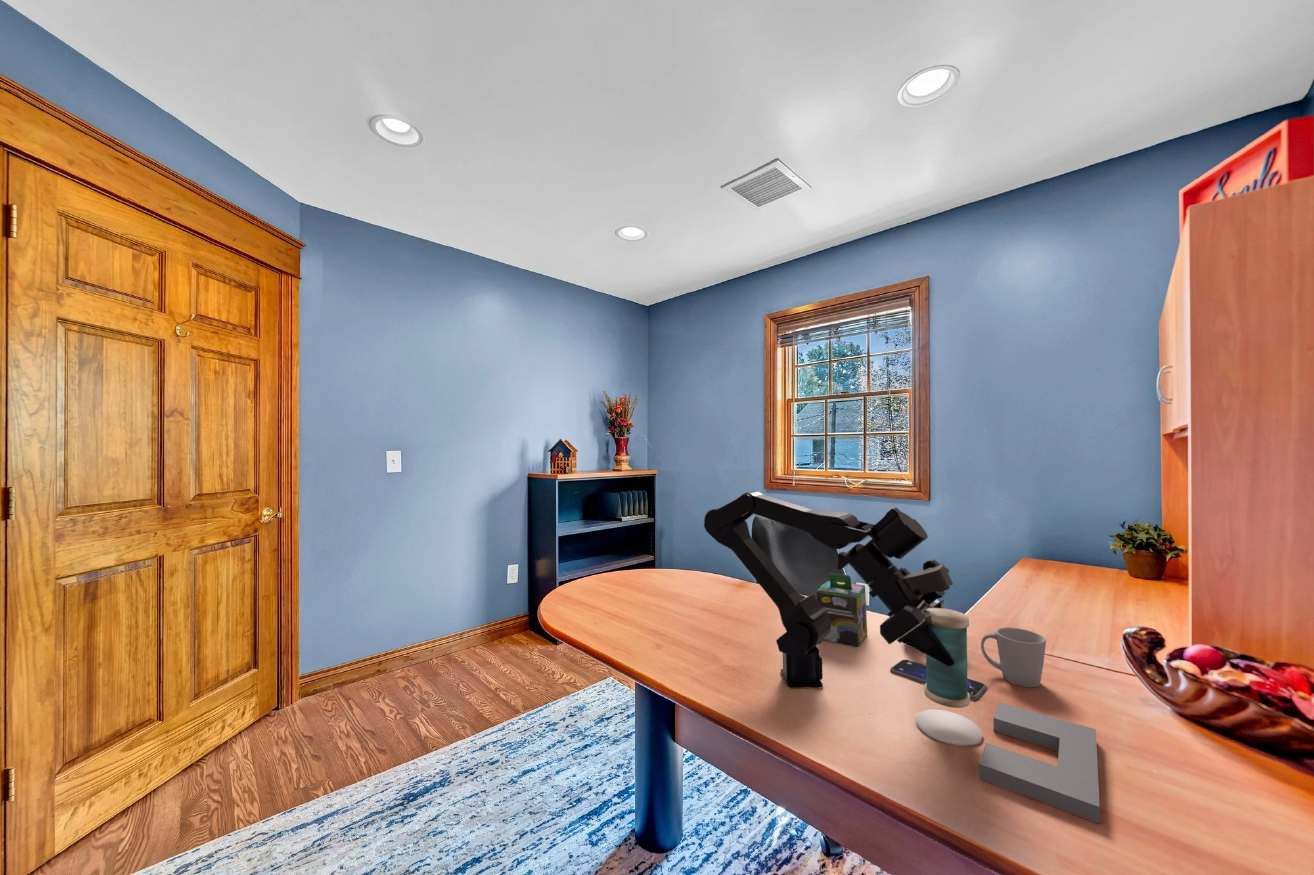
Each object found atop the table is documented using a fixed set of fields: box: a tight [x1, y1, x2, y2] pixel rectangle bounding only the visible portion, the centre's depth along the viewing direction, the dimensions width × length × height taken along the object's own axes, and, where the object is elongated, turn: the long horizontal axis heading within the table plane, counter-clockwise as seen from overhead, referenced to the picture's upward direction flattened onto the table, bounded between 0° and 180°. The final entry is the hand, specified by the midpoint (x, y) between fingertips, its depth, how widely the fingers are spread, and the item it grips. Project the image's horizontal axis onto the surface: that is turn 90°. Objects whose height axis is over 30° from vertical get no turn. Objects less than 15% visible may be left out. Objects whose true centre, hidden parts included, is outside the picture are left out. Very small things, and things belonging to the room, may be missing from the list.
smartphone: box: [889, 659, 988, 701], centre depth 92 cm, size 7×1×15 cm
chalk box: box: [815, 572, 868, 648], centre depth 113 cm, size 9×9×15 cm
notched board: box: [978, 701, 1101, 824], centre depth 69 cm, size 12×20×2 cm, turn 139°
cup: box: [980, 627, 1047, 688], centre depth 92 cm, size 8×10×8 cm
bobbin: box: [923, 607, 971, 709], centre depth 77 cm, size 6×6×13 cm
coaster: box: [915, 708, 983, 747], centre depth 77 cm, size 9×9×1 cm
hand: (956, 657), depth 76 cm, fingers closed on bobbin, 6 cm apart
